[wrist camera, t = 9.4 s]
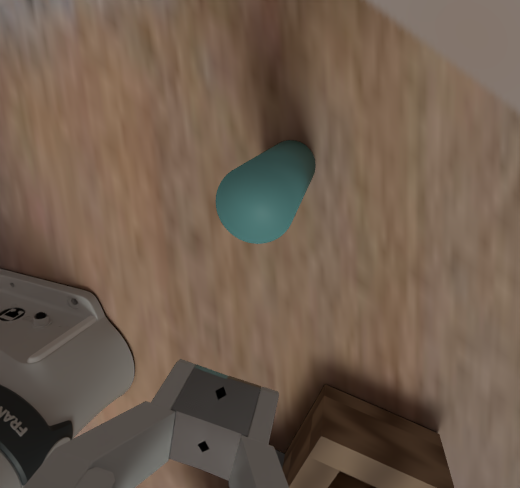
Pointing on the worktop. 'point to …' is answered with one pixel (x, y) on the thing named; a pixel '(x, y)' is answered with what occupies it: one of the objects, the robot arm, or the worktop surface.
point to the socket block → (362, 448)
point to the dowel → (265, 192)
